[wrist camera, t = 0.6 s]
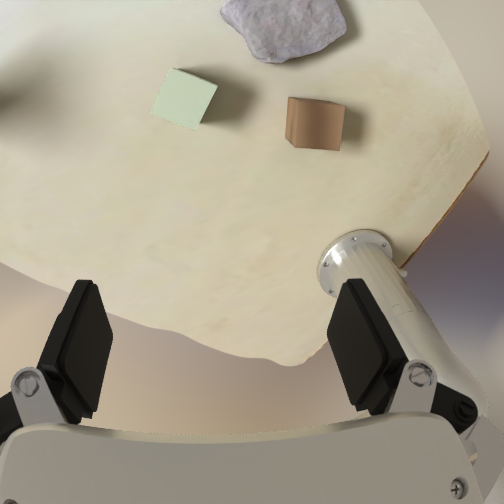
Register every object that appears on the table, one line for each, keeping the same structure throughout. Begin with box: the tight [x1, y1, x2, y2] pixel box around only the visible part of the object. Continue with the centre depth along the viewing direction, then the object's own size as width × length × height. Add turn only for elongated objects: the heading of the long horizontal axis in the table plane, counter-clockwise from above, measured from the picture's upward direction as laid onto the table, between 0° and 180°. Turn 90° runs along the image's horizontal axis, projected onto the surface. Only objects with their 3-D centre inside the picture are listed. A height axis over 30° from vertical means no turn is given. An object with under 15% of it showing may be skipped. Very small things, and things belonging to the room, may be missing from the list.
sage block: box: [150, 68, 218, 131], centre depth 28 cm, size 5×5×5 cm
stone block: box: [220, 0, 346, 64], centre depth 25 cm, size 12×5×10 cm
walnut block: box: [285, 97, 345, 151], centre depth 31 cm, size 5×5×5 cm
